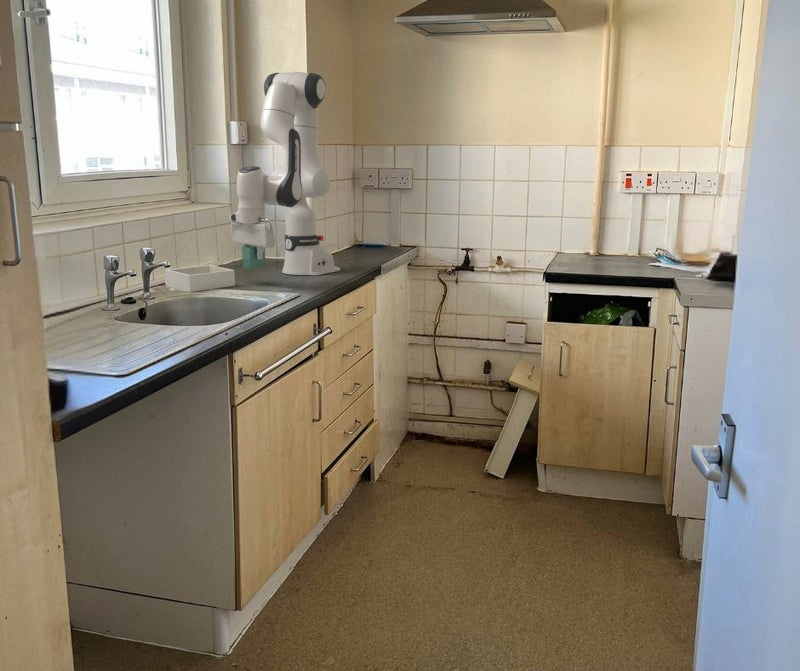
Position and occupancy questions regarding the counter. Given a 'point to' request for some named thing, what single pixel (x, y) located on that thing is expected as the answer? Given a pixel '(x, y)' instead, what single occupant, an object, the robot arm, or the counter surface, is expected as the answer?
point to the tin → (252, 257)
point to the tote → (199, 278)
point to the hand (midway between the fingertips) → (253, 258)
